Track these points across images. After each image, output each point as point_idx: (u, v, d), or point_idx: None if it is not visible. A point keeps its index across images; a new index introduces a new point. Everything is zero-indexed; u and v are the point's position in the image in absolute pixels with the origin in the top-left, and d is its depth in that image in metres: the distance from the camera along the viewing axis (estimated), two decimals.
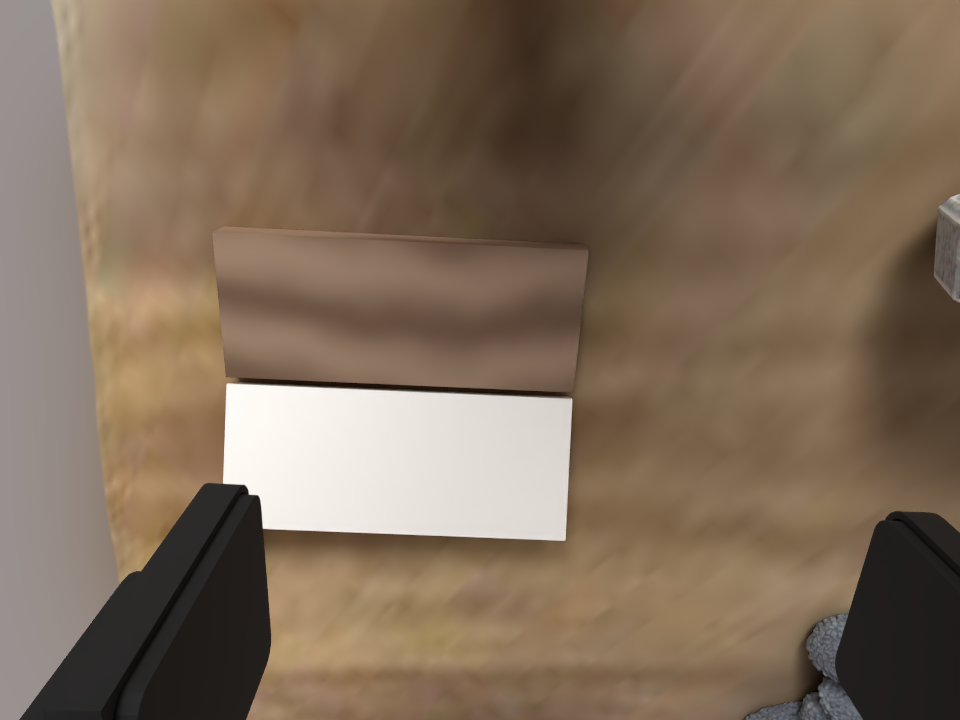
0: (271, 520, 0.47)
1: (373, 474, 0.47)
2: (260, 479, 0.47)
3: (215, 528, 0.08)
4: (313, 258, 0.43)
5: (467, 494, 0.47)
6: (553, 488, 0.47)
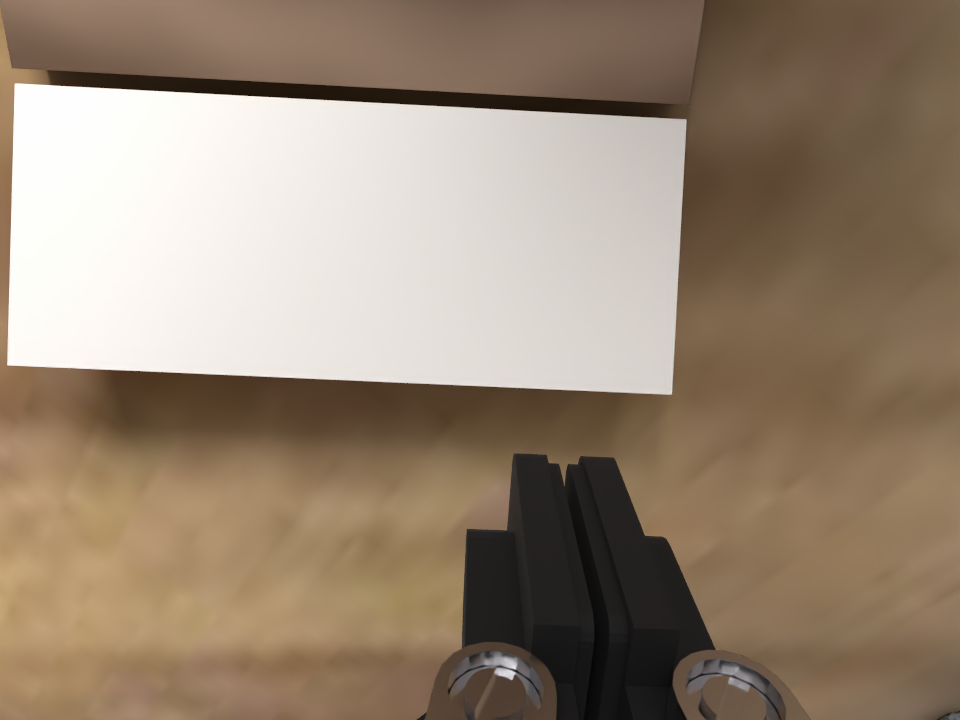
0: (104, 353, 0.24)
1: (302, 263, 0.24)
2: (82, 272, 0.24)
3: (551, 489, 0.10)
4: None
5: (484, 304, 0.24)
6: (650, 292, 0.24)
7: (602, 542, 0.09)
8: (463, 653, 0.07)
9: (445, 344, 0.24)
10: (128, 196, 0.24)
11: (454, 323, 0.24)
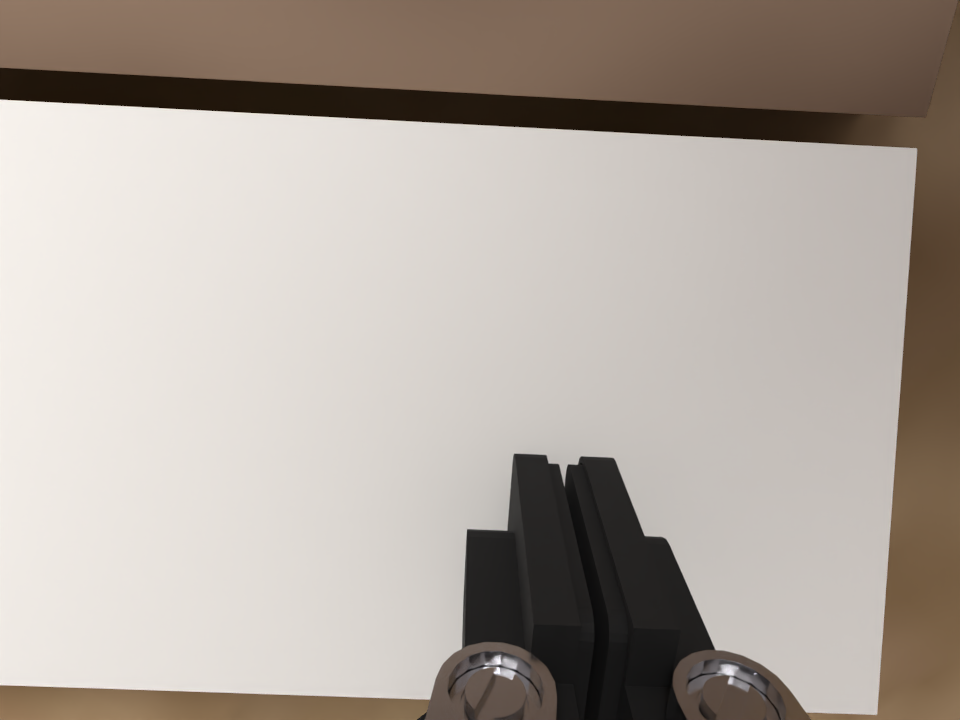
0: None
1: (110, 452, 0.12)
2: None
3: (551, 489, 0.10)
4: None
5: None
6: (836, 507, 0.12)
7: (602, 542, 0.09)
8: (464, 653, 0.07)
9: (411, 617, 0.12)
10: None
11: (430, 573, 0.12)
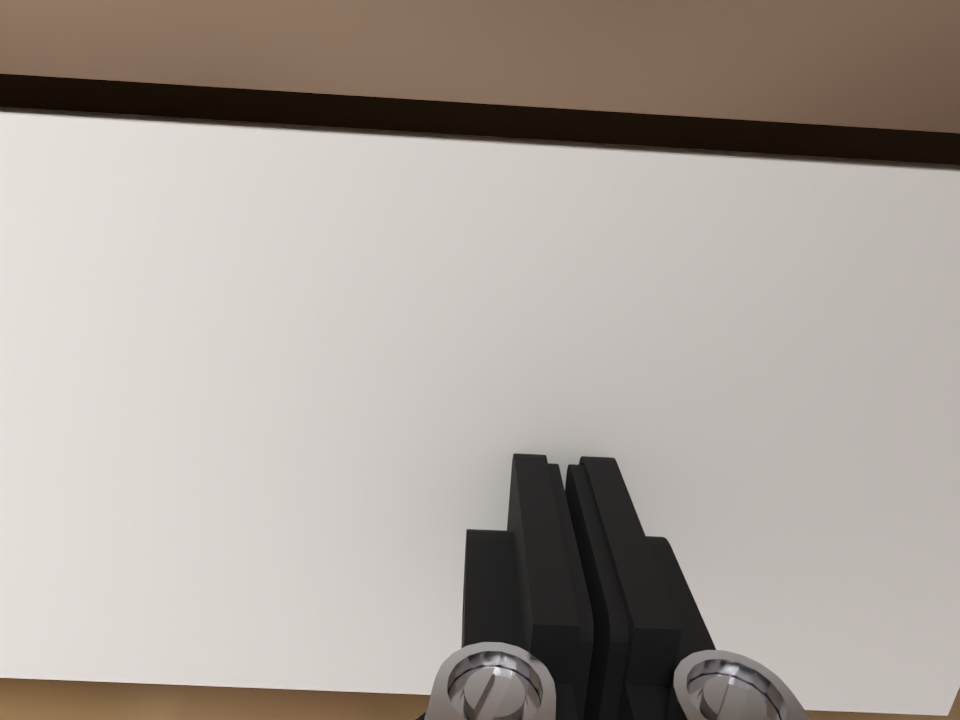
0: None
1: (218, 498, 0.11)
2: None
3: (550, 489, 0.10)
4: None
5: None
6: (957, 554, 0.12)
7: (603, 542, 0.09)
8: (463, 653, 0.07)
9: None
10: None
11: None
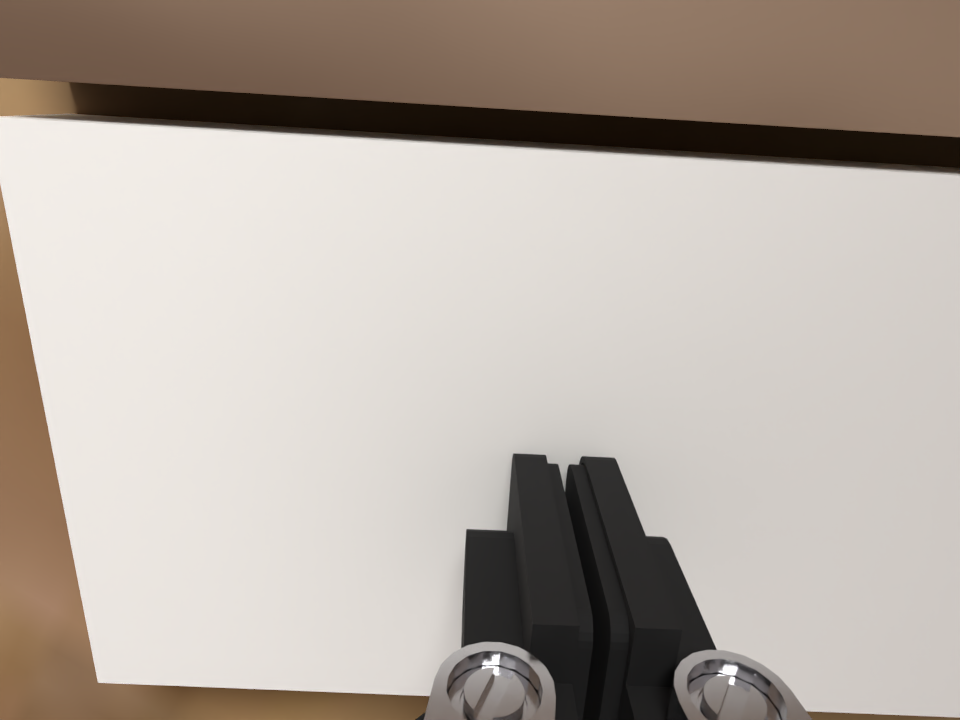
0: (280, 665, 0.12)
1: (682, 522, 0.11)
2: (220, 534, 0.11)
3: (550, 489, 0.10)
4: None
5: None
6: None
7: (603, 542, 0.09)
8: (462, 653, 0.07)
9: (939, 657, 0.12)
10: (305, 391, 0.10)
11: None
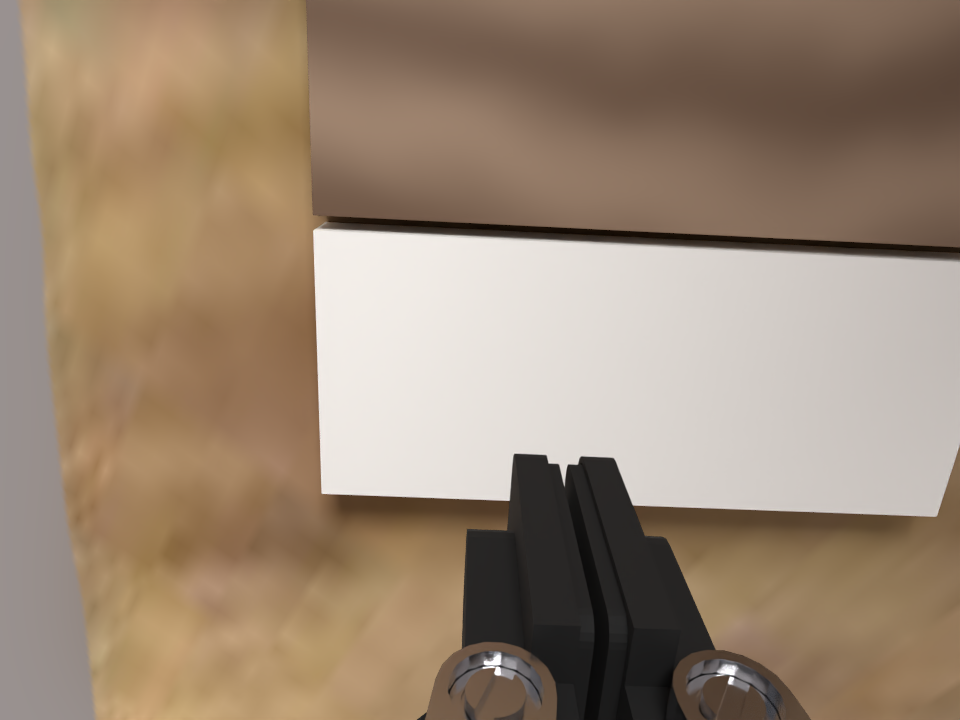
0: (411, 483, 0.26)
1: (603, 405, 0.25)
2: (389, 413, 0.25)
3: (551, 489, 0.10)
4: None
5: (775, 440, 0.25)
6: (938, 430, 0.25)
7: (602, 542, 0.09)
8: (463, 653, 0.07)
9: (732, 475, 0.26)
10: (433, 343, 0.24)
11: (743, 457, 0.25)
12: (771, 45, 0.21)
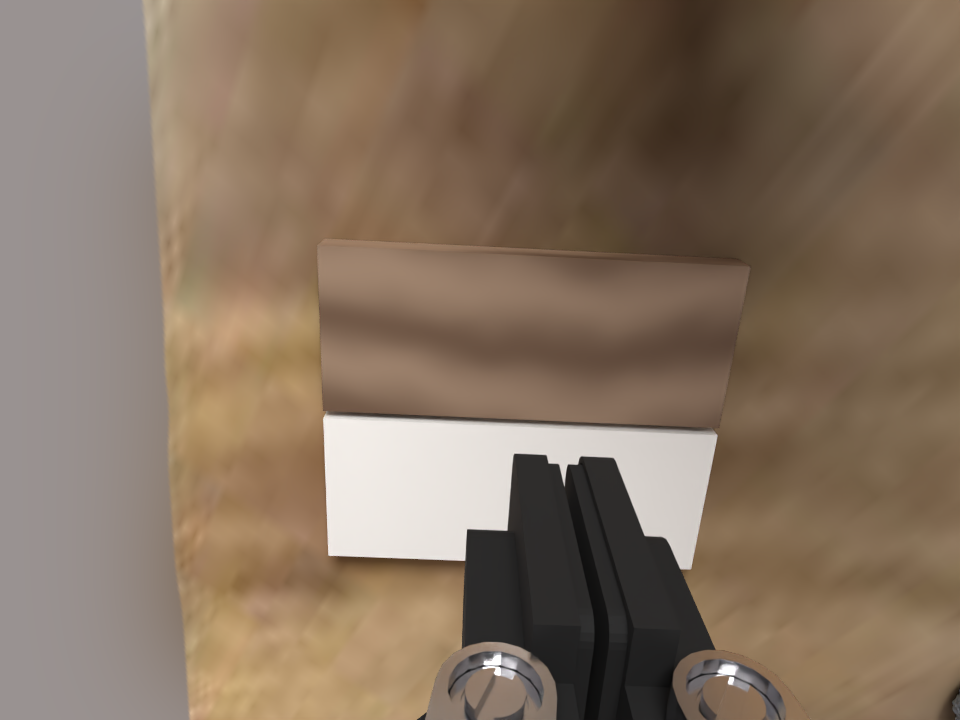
0: (380, 549, 0.44)
1: (489, 508, 0.43)
2: (367, 512, 0.43)
3: (551, 489, 0.10)
4: (431, 276, 0.37)
5: None
6: (685, 521, 0.43)
7: (602, 542, 0.09)
8: (463, 653, 0.07)
9: None
10: (391, 475, 0.42)
11: None
12: (567, 329, 0.39)
